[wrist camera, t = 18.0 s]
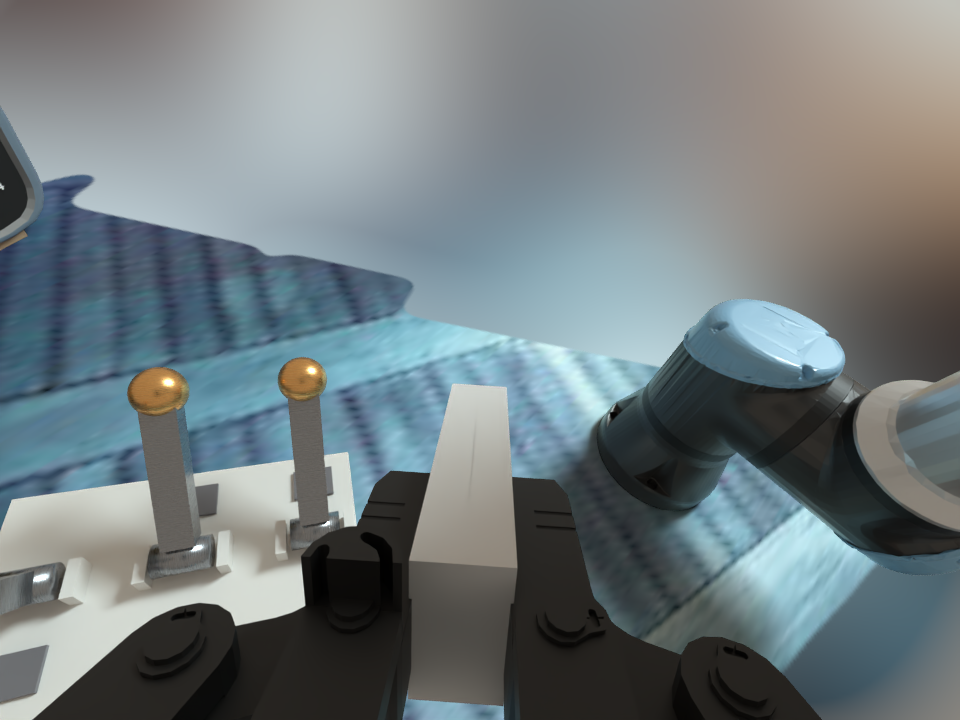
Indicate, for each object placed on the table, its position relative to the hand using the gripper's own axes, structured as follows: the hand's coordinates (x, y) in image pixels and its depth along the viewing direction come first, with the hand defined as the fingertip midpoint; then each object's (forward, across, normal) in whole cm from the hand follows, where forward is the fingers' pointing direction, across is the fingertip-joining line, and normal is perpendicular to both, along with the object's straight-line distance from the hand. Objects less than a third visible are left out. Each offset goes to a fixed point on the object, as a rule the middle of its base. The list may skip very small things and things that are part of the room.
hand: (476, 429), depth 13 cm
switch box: (+17, -21, -26) cm, 37 cm away
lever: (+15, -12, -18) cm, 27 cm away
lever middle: (+12, -20, -19) cm, 30 cm away
